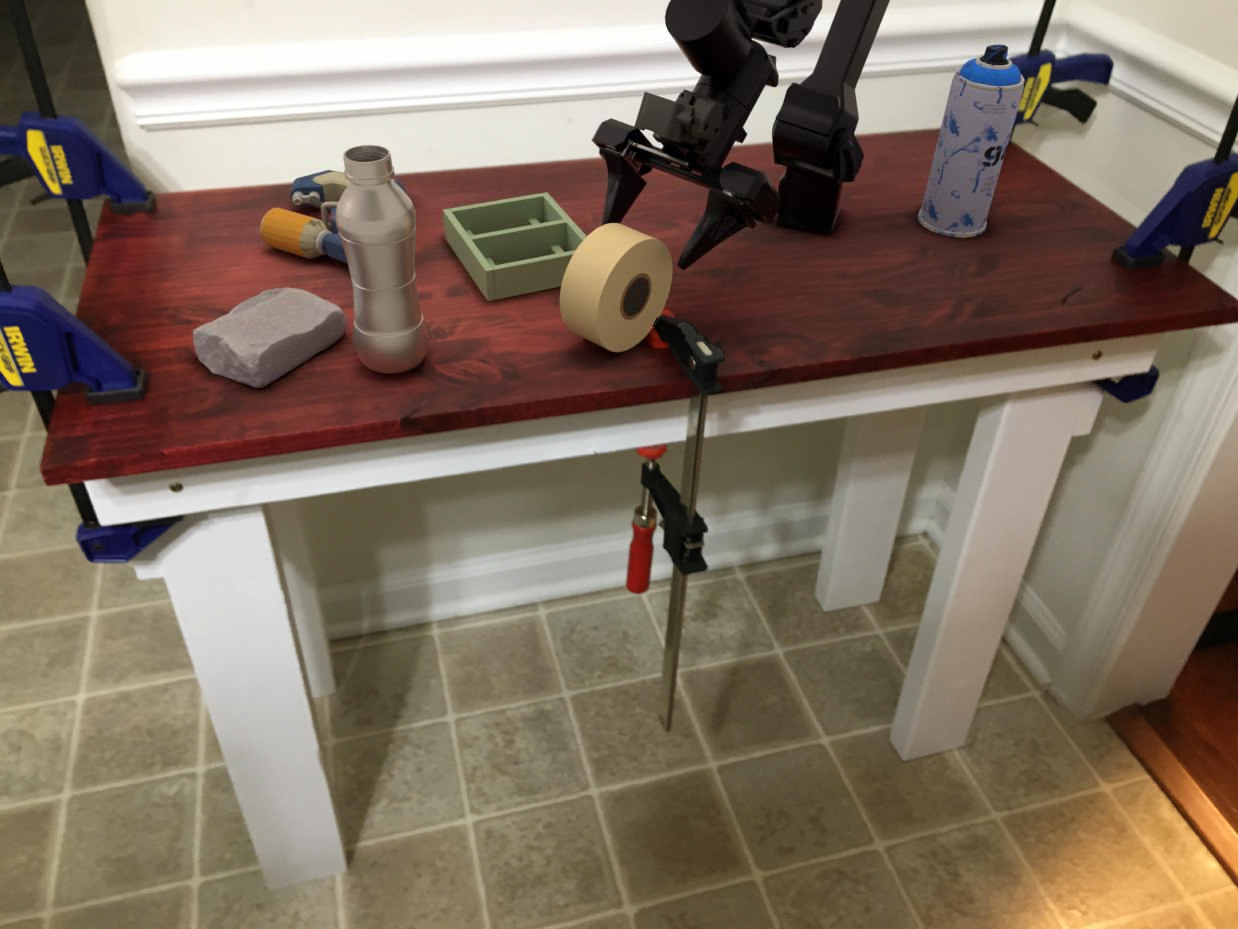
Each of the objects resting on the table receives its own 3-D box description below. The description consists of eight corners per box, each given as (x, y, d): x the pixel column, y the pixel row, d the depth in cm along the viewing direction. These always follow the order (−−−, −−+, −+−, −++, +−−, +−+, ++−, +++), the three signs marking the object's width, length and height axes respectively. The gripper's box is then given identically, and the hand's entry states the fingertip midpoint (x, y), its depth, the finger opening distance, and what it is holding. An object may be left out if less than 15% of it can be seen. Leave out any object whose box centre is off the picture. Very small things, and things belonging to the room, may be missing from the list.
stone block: (191, 377, 93) (262, 394, 88) (173, 329, 91) (244, 345, 86) (288, 324, 101) (359, 338, 96) (274, 279, 99) (345, 291, 94)
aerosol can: (960, 244, 115) (1009, 64, 102) (904, 218, 119) (944, 43, 106) (999, 224, 119) (1051, 49, 106) (943, 200, 123) (986, 30, 110)
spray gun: (255, 281, 103) (405, 277, 105) (247, 243, 100) (401, 240, 102) (279, 196, 119) (408, 195, 121) (273, 162, 116) (405, 160, 118)
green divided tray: (547, 220, 116) (547, 191, 114) (598, 279, 106) (598, 249, 104) (444, 238, 112) (442, 209, 109) (487, 301, 102) (485, 270, 100)
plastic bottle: (361, 344, 95) (328, 137, 82) (433, 342, 96) (412, 137, 83) (353, 383, 90) (316, 170, 77) (429, 382, 91) (406, 170, 78)
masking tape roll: (635, 304, 102) (636, 204, 94) (671, 321, 100) (675, 220, 92) (561, 353, 96) (556, 250, 88) (597, 372, 93) (596, 268, 86)
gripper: (606, 29, 91) (524, 182, 92) (780, 81, 82) (688, 251, 83) (656, 93, 101) (582, 232, 101) (816, 146, 92) (734, 298, 93)
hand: (641, 251), depth 94 cm, fingers open, 9 cm apart
